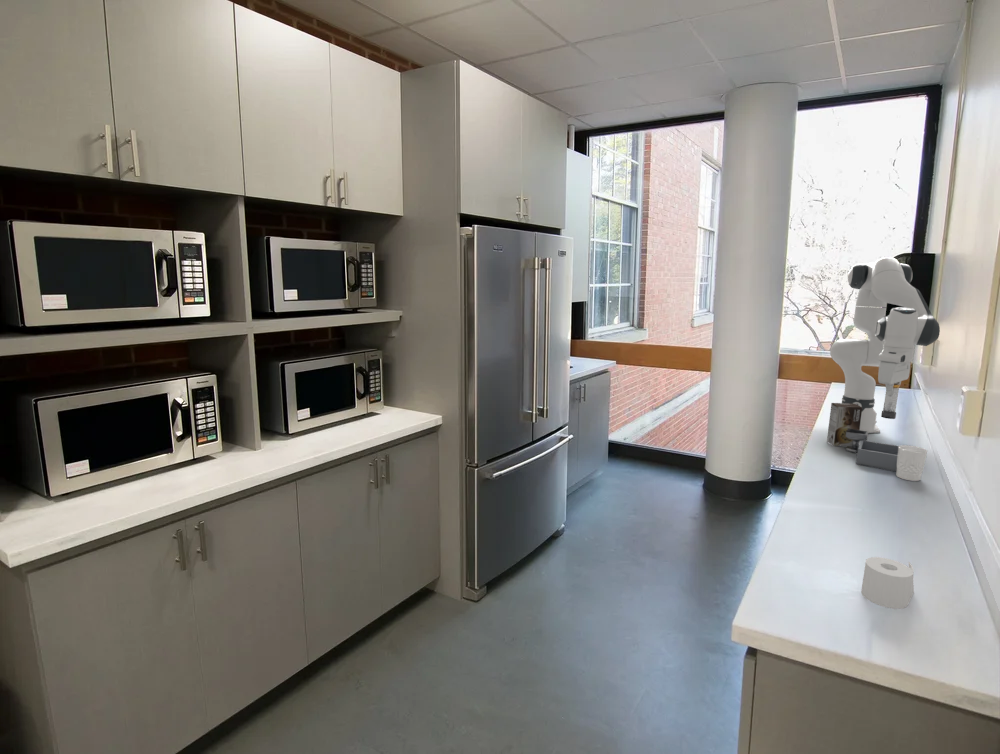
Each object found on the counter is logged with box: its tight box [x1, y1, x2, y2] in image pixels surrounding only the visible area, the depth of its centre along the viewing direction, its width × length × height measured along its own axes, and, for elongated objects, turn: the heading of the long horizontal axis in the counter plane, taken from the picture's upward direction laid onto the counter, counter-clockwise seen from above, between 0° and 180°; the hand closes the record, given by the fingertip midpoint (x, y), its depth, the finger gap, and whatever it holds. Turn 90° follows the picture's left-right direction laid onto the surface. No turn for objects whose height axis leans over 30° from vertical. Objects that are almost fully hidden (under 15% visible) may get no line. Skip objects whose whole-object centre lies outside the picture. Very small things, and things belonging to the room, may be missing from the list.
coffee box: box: [826, 402, 862, 447], centre depth 229 cm, size 9×6×16 cm
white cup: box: [895, 444, 928, 482], centre depth 193 cm, size 8×8×10 cm
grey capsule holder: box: [845, 428, 869, 454], centre depth 221 cm, size 7×7×8 cm
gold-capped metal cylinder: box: [880, 383, 901, 420], centre depth 204 cm, size 4×4×12 cm
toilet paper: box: [860, 556, 915, 610], centre depth 121 cm, size 8×11×7 cm
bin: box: [855, 440, 899, 472], centre depth 207 cm, size 15×15×6 cm
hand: (891, 394), depth 203 cm, fingers closed on gold-capped metal cylinder, 4 cm apart
